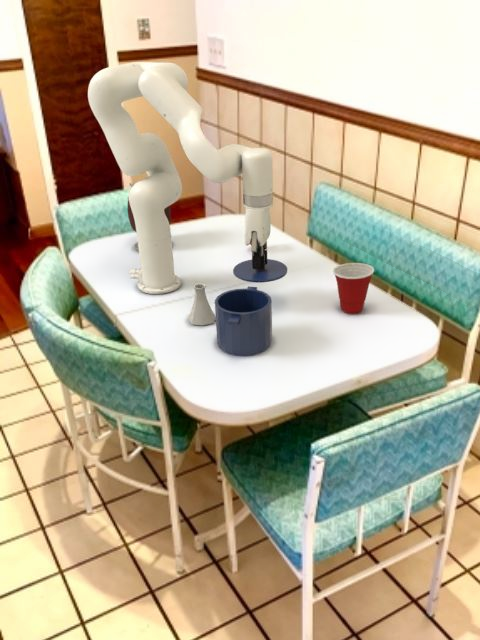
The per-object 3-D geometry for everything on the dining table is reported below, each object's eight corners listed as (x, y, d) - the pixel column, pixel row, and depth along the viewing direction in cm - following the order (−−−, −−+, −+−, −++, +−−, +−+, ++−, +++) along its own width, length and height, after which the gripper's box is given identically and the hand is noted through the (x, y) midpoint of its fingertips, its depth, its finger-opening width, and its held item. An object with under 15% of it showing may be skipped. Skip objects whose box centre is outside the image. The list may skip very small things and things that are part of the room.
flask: (188, 314, 172) (185, 280, 167) (215, 312, 173) (213, 279, 168) (188, 327, 166) (185, 292, 161) (216, 325, 167) (213, 291, 161)
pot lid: (226, 282, 167) (225, 262, 164) (241, 261, 179) (240, 241, 177) (281, 286, 164) (281, 266, 161) (292, 264, 176) (292, 245, 174)
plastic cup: (348, 296, 180) (350, 257, 174) (379, 308, 173) (382, 268, 167) (322, 309, 174) (324, 268, 167) (354, 322, 167) (356, 280, 161)
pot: (207, 358, 153) (204, 316, 147) (228, 321, 168) (226, 281, 162) (262, 364, 150) (261, 321, 144) (279, 326, 166) (278, 286, 160)
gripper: (251, 189, 169) (253, 254, 178) (235, 208, 155) (238, 277, 165) (279, 190, 167) (279, 255, 177) (265, 210, 154) (266, 279, 163)
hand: (259, 265), depth 171 cm, fingers closed on pot lid, 2 cm apart
